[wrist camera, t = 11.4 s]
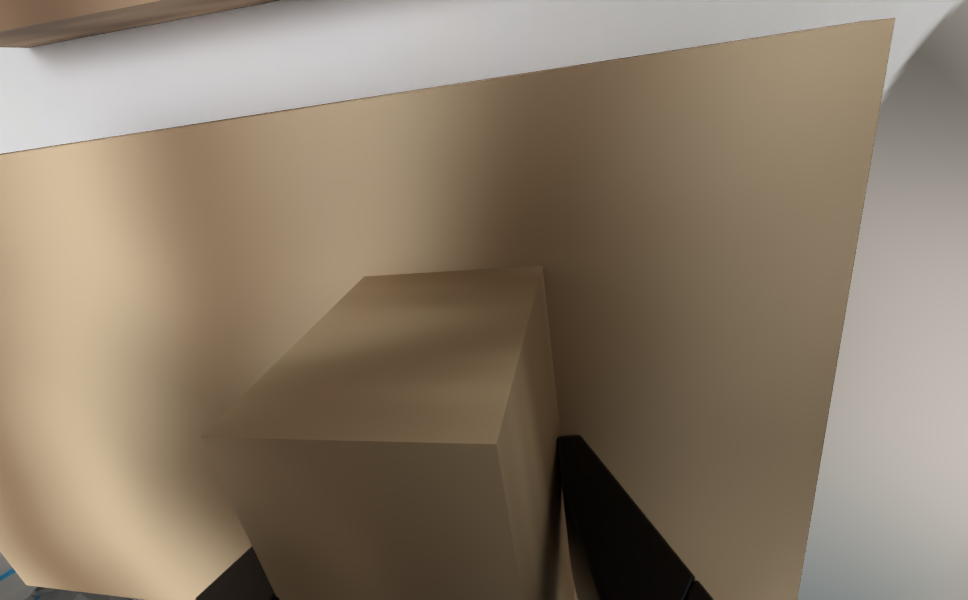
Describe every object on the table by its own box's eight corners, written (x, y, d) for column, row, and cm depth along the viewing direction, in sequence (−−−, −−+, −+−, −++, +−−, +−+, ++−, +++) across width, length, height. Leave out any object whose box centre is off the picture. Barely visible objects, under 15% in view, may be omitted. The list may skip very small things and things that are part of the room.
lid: (830, 24, 7) (1371, -27, 2) (761, 596, 12) (873, 979, 7) (-164, 178, 12) (-694, 269, 7) (77, 536, 18) (-135, 737, 12)
